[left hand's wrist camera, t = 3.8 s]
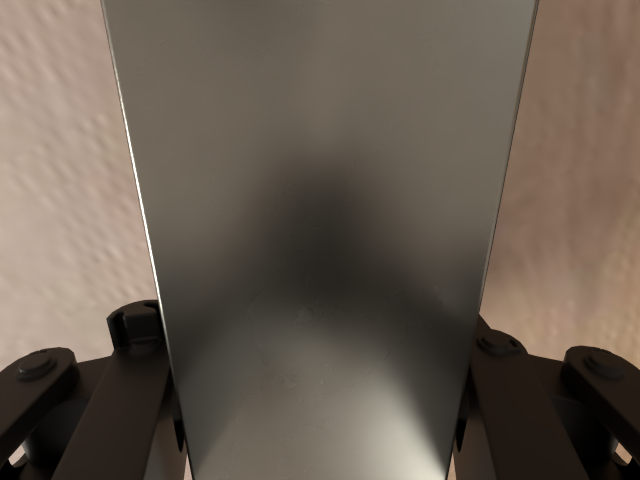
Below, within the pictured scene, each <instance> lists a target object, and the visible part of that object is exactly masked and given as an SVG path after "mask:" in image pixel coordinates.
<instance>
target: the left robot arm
mask: <svg viewBox="0 0 640 480" xmlns="http://www.w3.org/2000/svg"><path fill="white" fill-rule="evenodd" d="M107 323H108V327H109V331H110V335H111V339H112V343H113V346H114V351H113V353H112V355H111V356H108V357H104V358H99V359H94V360H90V361H85V362H80V363H77V361H76V358H75V355H74V352H72V351H71V350H70V349H68V348H61V347H57V348H48V349H42V350H40V351H35V352H32V353H30V354H29V355H27V356H24V357H22V358H20V359H18V360H16V361H15V362H13V363H12V364H10V365H9V366H7V367H6V368H5V369H3V370H2V371H1V372H0V480H184V473H185V465H186V457H187V449H186V443H185V438H184V433H183V428H182V423H181V417H180V412H179V407H178V402H177V397H176V391H175V386H174V381H173V376H172V371H171V365H170V360H169V355H168V350H167V345H166V339H165V334H164V329H163V324H162V318H161V313H160V308H159V303H158V300H143V301H138V302H133V303H130V304H128V305H125V306H122V307H121V308H119V309H117V310H115V311H114V312H112V313H111V314H110V315H109V316H108V317H107ZM618 443H620V444H621V445H622V446H623V447H624V448H625V449H626V451H627V452H628V453H629V454H630V455H631V456H632V459H631V461H630V463H629V464H627V463H626V462H625V461H624V460H623V459H621V457H620V456H619V455H618V454H617V453H616V452H615V450H616V448H617V446H618ZM21 444H22V446H23V449H24V451H25V454H24V455H23V456H22V457H21V458H20V459H19V460H18V461H17V462H16V463H15V464H14V465H11V464H10V462H9V460H8V458H9V457H10V456H11V455H12V454H13V453H14V452H15V451H16V450H17V448H18V447H19V446H20V445H21ZM453 456H454V464H455V472H456V480H640V370H639V369H638V368H637V367H635V366H634V365H633V364H631V363H630V362H628V361H626V360H625V359H623V358H622V357H620V356H617V355H615V354H613V353H611V352H610V351H607V350H604V349H600V348H596V347H589V346H575V347H571V348H570V349H568V350H567V351H566V354H565V357H564V360H563V361H558V360H553V359H548V358H543V357H538V356H534V355H530V354H528V353H527V351H526V349H525V347H524V346H523V345H522V344H521V342H519V341H518V340H517V339H515V338H514V337H512V336H511V335H508V334H506V333H504V332H501V331H498V330H494V329H491V328H490V327H489V326H488V325H487V323H486V322H485V321H484V320H483V318H482V317H481V316H480V314H479V316H478V322H477V327H476V332H475V337H474V343H473V348H472V353H471V358H470V363H469V369H468V374H467V379H466V384H465V390H464V395H463V400H462V405H461V410H460V416H459V421H458V426H457V431H456V437H455V442H454V447H453Z"/></svg>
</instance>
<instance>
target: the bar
mask: <svg viewBox="0 0 640 480" xmlns="http://www.w3.org/2000/svg"><path fill="white" fill-rule="evenodd" d="M100 1H101V6H102V11H103V17H104V22H105V27H106V32H107V37H108V43H109V48H110V53H111V58H112V63H113V69H114V74H115V79H116V84H117V89H118V95H119V100H120V105H121V110H122V115H123V121H124V126H125V131H126V136H127V141H128V147H129V152H130V157H131V162H132V167H133V173H134V178H135V183H136V188H137V194H138V199H139V204H140V209H141V214H142V220H143V225H144V230H145V235H146V240H147V246H148V251H149V256H150V261H151V266H152V272H153V277H154V282H155V287H156V292H157V298H158V303H159V308H160V313H161V318H162V324H163V329H164V334H165V339H166V345H167V350H168V355H169V360H170V365H171V371H172V376H173V381H174V386H175V391H176V397H177V402H178V407H179V412H180V417H181V423H182V428H183V433H184V438H185V443H186V449H187V454H188V459H189V464H190V469H191V475H192V480H447V478H448V473H449V468H450V463H451V457H452V452H453V447H454V442H455V437H456V431H457V426H458V421H459V416H460V410H461V405H462V400H463V395H464V390H465V384H466V379H467V374H468V369H469V363H470V358H471V353H472V348H473V343H474V337H475V332H476V327H477V322H478V316H479V311H480V306H481V301H482V296H483V290H484V285H485V280H486V275H487V270H488V264H489V259H490V254H491V249H492V243H493V238H494V233H495V228H496V223H497V217H498V212H499V207H500V202H501V196H502V191H503V186H504V181H505V176H506V170H507V165H508V160H509V155H510V149H511V144H512V139H513V134H514V129H515V123H516V118H517V113H518V108H519V102H520V97H521V92H522V87H523V82H524V76H525V71H526V66H527V61H528V56H529V50H530V45H531V40H532V35H533V29H534V24H535V19H536V14H537V9H538V3H539V0H100Z"/></svg>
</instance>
